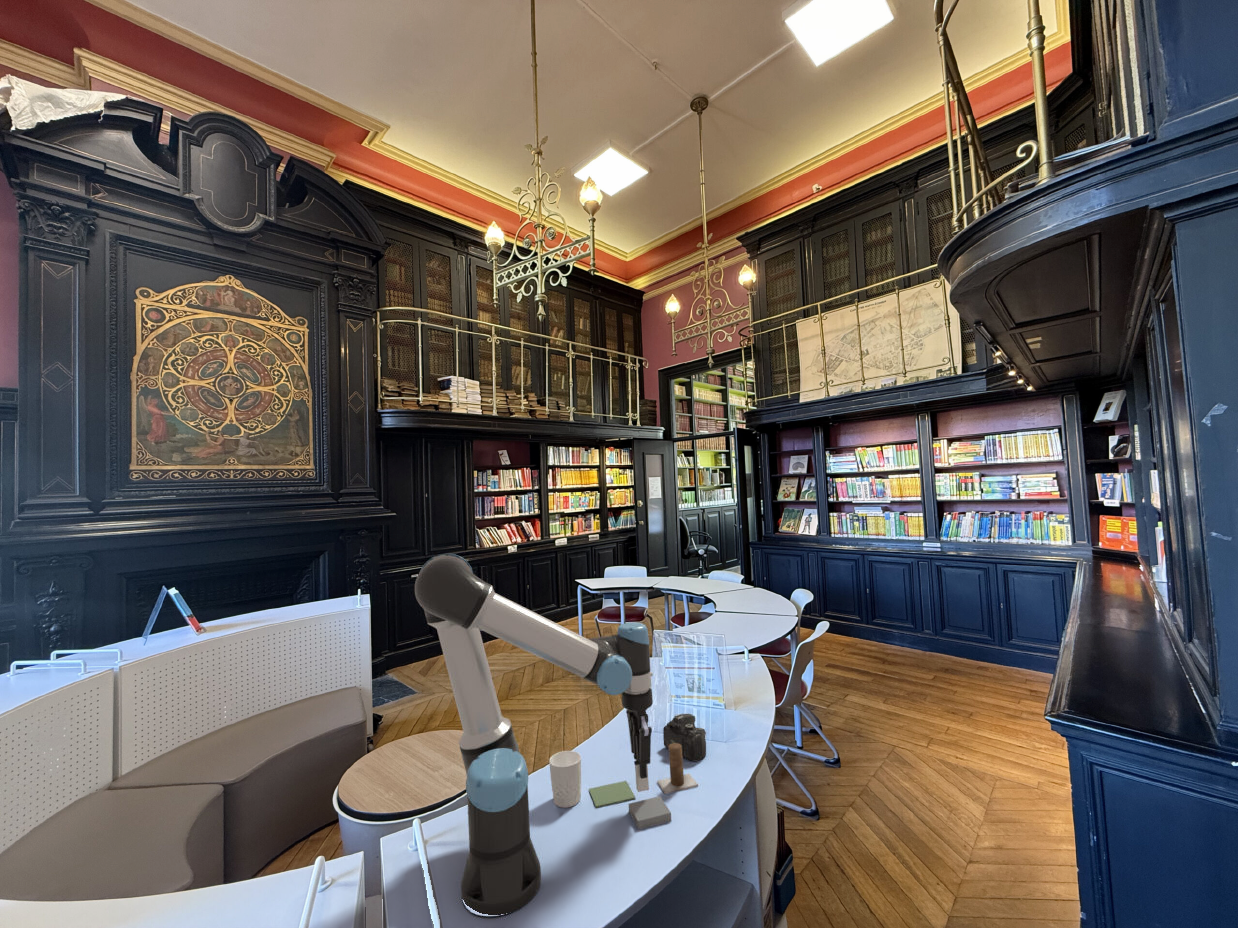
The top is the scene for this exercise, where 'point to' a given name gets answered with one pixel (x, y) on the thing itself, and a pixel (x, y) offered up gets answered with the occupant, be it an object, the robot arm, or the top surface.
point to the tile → (649, 812)
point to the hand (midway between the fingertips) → (642, 788)
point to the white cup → (566, 778)
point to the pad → (611, 794)
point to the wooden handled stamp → (676, 772)
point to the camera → (686, 736)
